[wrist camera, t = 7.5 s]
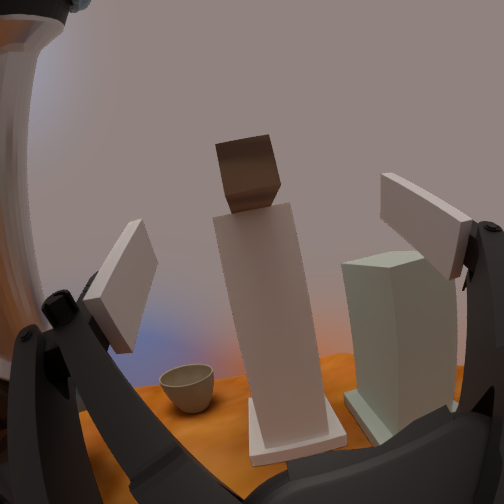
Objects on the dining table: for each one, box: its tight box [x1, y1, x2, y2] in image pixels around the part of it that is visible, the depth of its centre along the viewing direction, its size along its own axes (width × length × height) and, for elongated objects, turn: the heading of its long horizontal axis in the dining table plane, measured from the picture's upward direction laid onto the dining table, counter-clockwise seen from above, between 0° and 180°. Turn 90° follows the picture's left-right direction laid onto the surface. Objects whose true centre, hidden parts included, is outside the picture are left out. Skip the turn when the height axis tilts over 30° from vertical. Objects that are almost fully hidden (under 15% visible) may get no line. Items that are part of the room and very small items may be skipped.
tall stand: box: [213, 203, 347, 467], centre depth 36 cm, size 16×12×30 cm
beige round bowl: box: [159, 364, 214, 413], centre depth 46 cm, size 10×10×7 cm
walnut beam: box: [215, 135, 281, 214], centre depth 32 cm, size 24×4×4 cm, turn 1°
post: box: [341, 251, 459, 447], centre depth 30 cm, size 16×12×22 cm
